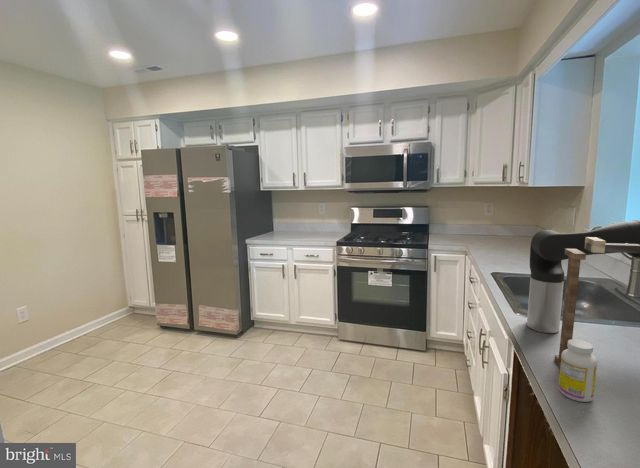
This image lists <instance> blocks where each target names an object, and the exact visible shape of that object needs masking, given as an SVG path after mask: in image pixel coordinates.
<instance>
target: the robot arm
mask: <svg viewBox="0 0 640 468" xmlns="http://www.w3.org/2000/svg"><path fill="white" fill-rule="evenodd" d="M586 237H597V238H599V239H602V240H605V241H606V243H619V244H639V245H640V219H637V220H635V219H634V220H629V221H619V222H615V223H611V224H607V225H604V226H602V227H601V226H600V227H598V228H596V229H593V230H589V231H583V232H571V233H569V232H568V233H565V232H564V233H562V232H557V231H555V230H553V229H541V230H540V231H538V232H536V233H535V234H534V235H533V236H532V238H531V241H530V249H529V269H530V277H529V280H530V281H529V294H528V305H527V317H526V326H527V327H528V328H529V329H532V330H534V331H535V332H539V333H544V334H556V333H559V331H560V324H561V315H562V306H563V305H562V304H563V294H564V283H565V271H564V269H563V265H562V261H565V260H568V258H569V256H567V255H565V249H578V250H579V251H581V252H583V253H585V254H586V256H592V255H607V254H608V255H609V254H617V253H618V254H620V252H604V253H593V252H591V251H588V250H586V249H585V248H584V247H585V238H586ZM626 254H628V255H629V256H632V258H633V259H634V260H638V262H639V261H640V253H626Z"/></svg>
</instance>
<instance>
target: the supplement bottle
mask: <svg viewBox="0 0 640 468" xmlns="http://www.w3.org/2000/svg"><path fill="white" fill-rule="evenodd" d="M567 346H568V349H566V350H564V351H563V352H562V354H561V365H560V367H559V376H558V377H559V378H558V390H559V392H560V393H561V394H562V395H563V396H564V397H566V398H568V399H570V400H573V401H577V402H583V403H584V402H585V403H587V402H590V401H593V399H594V396H595V388H596V387H595V385H596V376H597V369H598V368H597V367H598V360H597V358H596V357H595V355H593V354H592V353H593V352H594V346H593V344H591V343H589V342H588V341H585V340H582V339H577V338H576V339H575V338H572V339H571V340H568V344H567Z"/></svg>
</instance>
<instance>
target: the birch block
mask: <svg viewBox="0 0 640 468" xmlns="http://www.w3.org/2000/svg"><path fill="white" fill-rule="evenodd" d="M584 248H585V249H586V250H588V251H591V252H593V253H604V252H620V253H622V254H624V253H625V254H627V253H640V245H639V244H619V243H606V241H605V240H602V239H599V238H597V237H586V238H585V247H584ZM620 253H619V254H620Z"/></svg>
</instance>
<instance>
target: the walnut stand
mask: <svg viewBox="0 0 640 468" xmlns="http://www.w3.org/2000/svg"><path fill="white" fill-rule="evenodd" d="M565 255H567V256H569V258H568V259H567V261H568V262H567V270H566V271H567V272H566V278H565V290H564V299H563V309H562V319H561V320H562V321H561V329H560V330H561V331H560V340H559V351H558V354H554V361H555V362H556V364H557V366H558V367H559V368H560V365H561V354H562V352H563V351H564V350H566V349H568V346H567V344H568V340H571V339H573V336H574V335H573V334H574V329H575V327H574V326H575V318H576V317H575V316H576V306H577V299H578V298H577V296H578V288H579V278H580V271H581V270H580V268H581V260H583V261H585V260H586V259H587V255H586V254H585V253H583V252H581V251H579V250H578V249H565Z"/></svg>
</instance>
